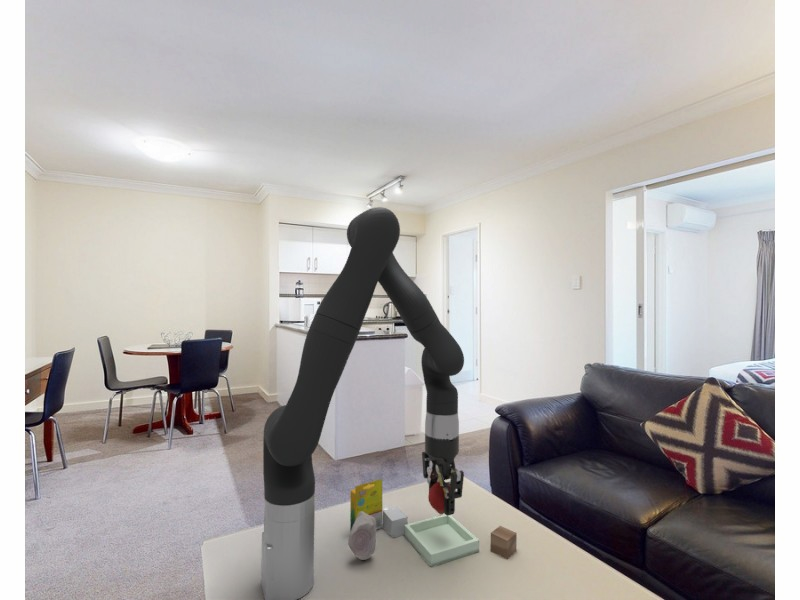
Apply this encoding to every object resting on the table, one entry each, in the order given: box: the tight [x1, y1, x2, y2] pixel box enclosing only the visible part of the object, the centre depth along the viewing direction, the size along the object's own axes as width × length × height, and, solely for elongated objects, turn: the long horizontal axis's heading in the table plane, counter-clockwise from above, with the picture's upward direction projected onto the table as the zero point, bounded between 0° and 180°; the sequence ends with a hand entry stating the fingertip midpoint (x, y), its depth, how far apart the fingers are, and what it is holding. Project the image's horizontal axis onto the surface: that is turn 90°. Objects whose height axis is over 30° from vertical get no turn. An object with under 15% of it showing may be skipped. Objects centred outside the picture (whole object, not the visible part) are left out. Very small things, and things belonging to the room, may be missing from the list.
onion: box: [427, 481, 450, 515], centre depth 89 cm, size 6×6×8 cm
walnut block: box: [489, 525, 518, 560], centre depth 87 cm, size 4×4×4 cm
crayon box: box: [349, 478, 383, 532], centre depth 94 cm, size 7×3×12 cm, turn 123°
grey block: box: [382, 506, 409, 539], centre depth 94 cm, size 4×5×4 cm
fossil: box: [347, 511, 377, 561], centre depth 83 cm, size 6×4×10 cm, turn 105°
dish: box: [403, 514, 480, 568], centre depth 89 cm, size 12×12×2 cm
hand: (441, 506), depth 89 cm, fingers closed on onion, 6 cm apart
